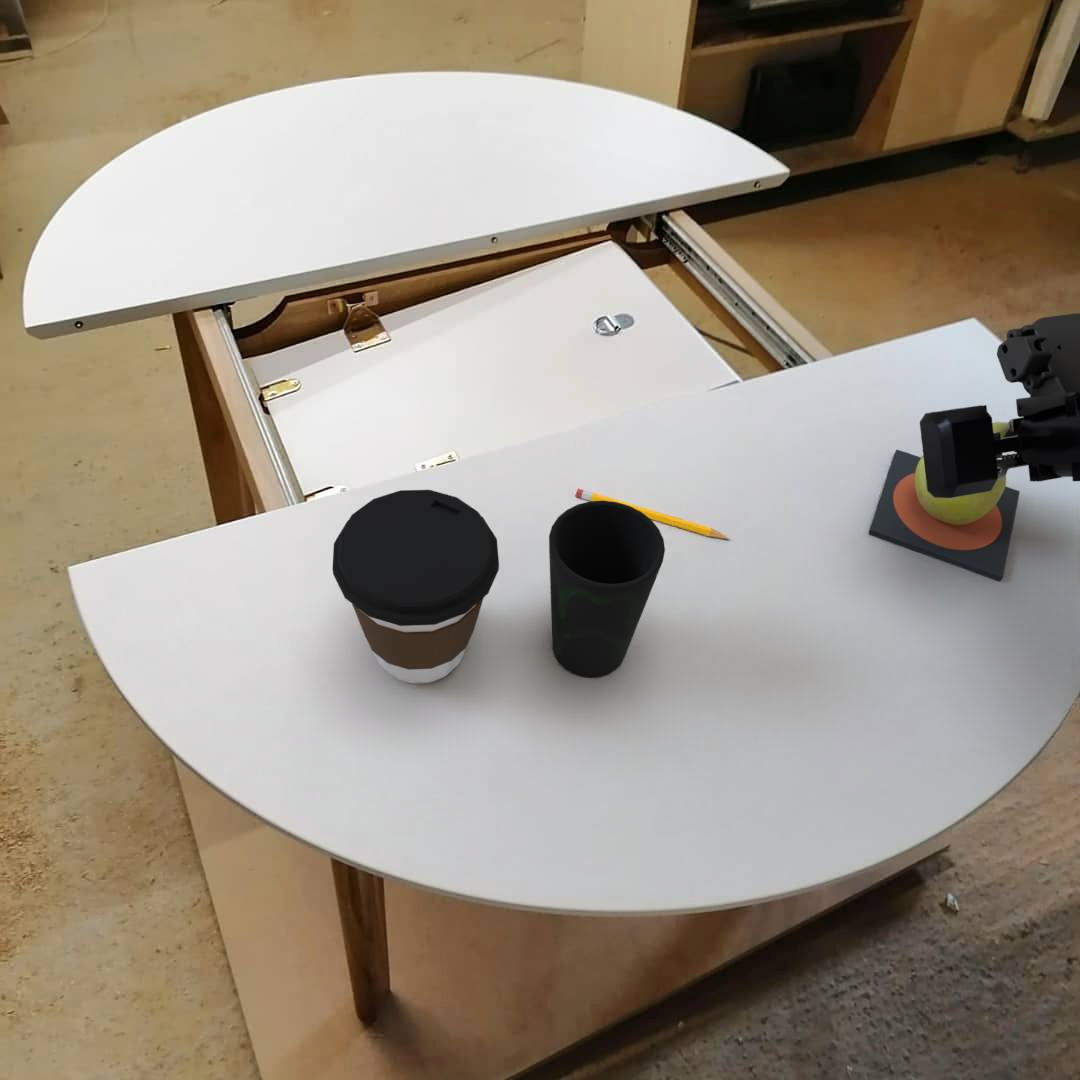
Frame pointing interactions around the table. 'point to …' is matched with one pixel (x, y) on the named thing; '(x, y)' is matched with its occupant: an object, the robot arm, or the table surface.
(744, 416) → the table surface
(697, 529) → the pencil
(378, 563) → the coffee cup
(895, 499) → the mat
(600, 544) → the cup
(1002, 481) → the fruit
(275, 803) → the table surface
